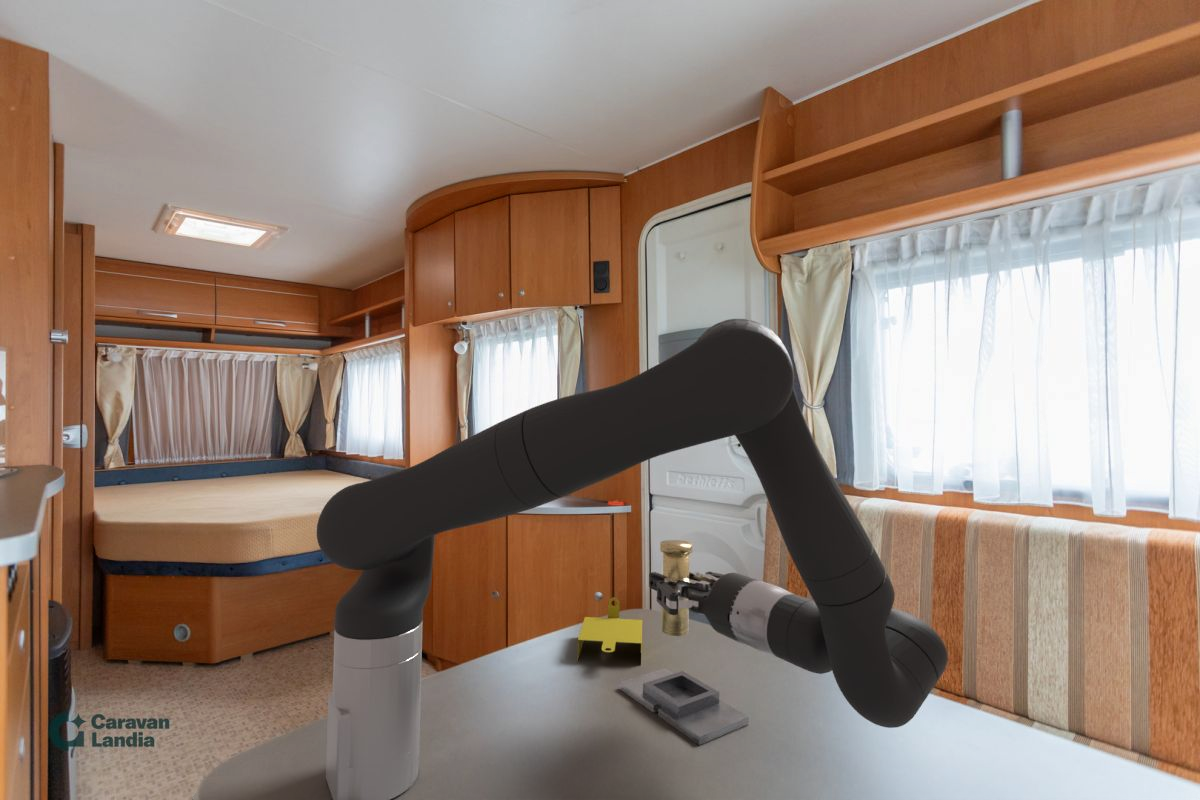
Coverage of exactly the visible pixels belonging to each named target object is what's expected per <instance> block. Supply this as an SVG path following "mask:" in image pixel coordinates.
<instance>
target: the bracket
mask: <svg viewBox="0 0 1200 800" xmlns="http://www.w3.org/2000/svg"><path fill="white" fill-rule="evenodd" d="M613 601H614V602H616V605H613V604H612V602H613ZM620 603H621V602H620V600H619V599H618V598H617V597H611V598H609V599H608V605H607V617H593V616H592V617H591V616H584V619H583V622H582V625H581V628H580V631H579V635H578V639H577V657H576V658H577V660H576V661H579V659H578V658H580V656H581V652H580V651H582V649H583V644H584V641H587V642H588V641H590V642H602V645H601V651H602V652H604V653H613V652H615V651H616V643H625V644H626V643H627V644H640V652H642V649H643V648H642V647H643V645H642V644H643V619H629V618H627V619H626V618H620V606H621V605H620ZM606 649H610V650H606Z"/></svg>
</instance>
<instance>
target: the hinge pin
mask: <svg viewBox="0 0 1200 800" xmlns="http://www.w3.org/2000/svg"><path fill="white" fill-rule="evenodd" d="M659 551H660V552H662V575H664V576H666V577H669V578H672V579H676V580H680V579H683V578H687V579H689V572H690V554H692V553H693V543H692V542H690V541H686V540H681V539H668V540H667V539H666V540H662V541H660V547H659ZM687 587H688V586H687ZM673 589H674V590H675V591H676V590H677V587H676V586H673ZM661 607H662V606H661ZM689 611H690V609H687V608H679V611H678V615H670V614H669V613H668V612H667V611H666V610H665V609H664V608H663V607H662V613H661V614H662V615H661V621H662V622H661V624H662V626H661V627H662V628H661V629H662V633H664V634H665V635H668V636H673V637H674V636H675V637H682V636H686V635H687V634H689V631H690V630H689V626H690V624H689V623H690V622H689V619H690V618H689V617H690V615H689V614H690V612H689Z"/></svg>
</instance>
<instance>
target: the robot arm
mask: <svg viewBox="0 0 1200 800" xmlns="http://www.w3.org/2000/svg"><path fill="white" fill-rule="evenodd" d="M794 371H795V370H794V366H793V362H792V359H791V356H790V354H789V352H788V349H787V348H786V346H785V344H784V342H783V341H782V339H781V338H780V337H779V336H778V335H777V333H775V332H774V331H773V330H772V329H771V328H770V327H767V326H766V325H765V324H762V323H760V322H758V321H756V320H752V319H747V318H730V319H725V320H722V321H720V322H717V323H715V324H714V325H711V327H709V328H708V329H706V330H705V331H704V332H703V333H702V334H701V335H700V336H699V337H698V338H697V340H696V341H695V342H693V343H692V344H690V345H689V346H687V347H686V348H684V349H682V350H681V351H679V352H677V353H676V354H673V355H672V356H671V357H669V358H667V359H666V360H663V361H662V362H660V363H658V364H656V365H654V366H653V367H650V368H648V369H647V370H645V371H642V372H641V373H640V374H637V375H635V376H633V377H631V378H628V379H626V380H624V381H622V382H619V383H616V384H613V385H610V386H607V387H606V386H605V387H603V388H598V389H594V390H593V389H592V390H589V391H584V392H581V393H576V394H572V395H567V396H563V397H560V398H557V399H554V400H551V401H547V402H544V403H542V404H540V405H537V406H533V407H531V408H529V409H526V410H524V411H522V412H520V413H517V414H515V415H513V416H510V417H508V418H505V419H504V420H501V421H500V422H497V423H495V424H494V425H492V426H490V427H488V428H485V429H484V430H482V431H480V432H479V431H478V432H477V433H475V434H473V435H470V436H469V437H467V438H465V439H463V440H461V441H459V442H458V443H455V444H453V445H451V446H450V447H448V448H445V449H444V450H442V451H440V452H438V453H437V454H435V455H432V456H431V457H430V458H428V459H425V460H424V461H422V462H419V463H417V464H415V465H413V466H410V467H407V468H405V469H402V470H399V471H396V472H393V473H390V474H387V475H383V476H380V477H377V478H374V479H370V480H367V481H362V482H358V483H354V484H351V485H348V486H346V487H344V488H342V489H340V490H339V491H337V492H336V493H335V494H333V496H331V498H329V500H328V501H327V502H326V504H325V505H324V507H323V508H322V509H321V512H320V515H319V516H318V521H317V525H316V539H317V543H318V546H319V548H320V551H321V552H322V553H323V554H324V556H325V557H326V558H327V559H328V560H329V561H330V562H331V563H334V564H335V565H336V566H339V567H341V568H344V569H348V570H352V571H361V573H360V575H359V576H358V578H357V579H356V581H355V582H354V584H353V585H352V586H351V587H350V588H349V589H348V590H347V592H346V593H344V595H342V596H341V597H340V599H339V600H338V601H337V603H336V606H335V610H334V625H333V626H334V631H333V632H334V635H333V636H334V637H333V638H334V639H333V670H332V671H333V673H332V691H330V692H329V693H327V694H328V695H327V696H328V697H327V721H326V722H327V724H326V726H327V727H326V729H327V731H326V758H325V759H326V762H325V763H326V764H325V765H326V766H325V780H326V783H327V785H328V786H327V787H328V789H329V791H330V792H329V793H330V794H331V798H332V800H392V799H394V798H396V797H398V796H400V795H401V794H403V793H404V792H406V791H407V790H408V789H410V788H411V786H412V785H413V784H414V783H415V782H416V780H417V778H418V777H419V776H418V775H419V766H420V765H419V764H420V733H421V732H420V730H421V729H420V728H421V726H420V725H421V698H422V697H421V696H422V695H421V694H422V690H421V689H422V658H423V657H422V655H423V654H422V653H423V651H422V650H423V627H424V626H423V621H424V620H423V618H424V617H423V615H424V606H425V604H426V602H427V600H428V597H429V595H430V591H431V586H432V579H433V577H432V576H433V564H434V563H433V562H434V554H435V553H434V552H435V539H436V538H435V537H436V535H438V534H441V533H444V532H448V531H451V530H456V529H460V528H464V527H468V526H469V527H470V526H474V525H477V524H481V523H486V522H490V521H495V520H497V519H500V518H504V517H508V516H511V515H512V516H513V515H515V514H518V513H522V512H525V511H528V510H532V509H535V508H537V507H540V506H544V505H546V504H548V503H551V502H553V501H555V500H556V501H557V500H559V499H561V498H564V497H566V496H569V495H572V494H574V493H576V492H579V491H581V490H583V489H585V488H587V487H590V486H592V485H595V484H597V483H599V482H602V481H604V480H606V479H609V478H611V477H614V476H616V475H618V474H620V473H622V472H624V471H626V470H628V469H630V468H633V467H634V466H637V465H639V464H641V463H644V462H646V461H648V460H651V459H653V458H657V457H658V456H662V455H665V454H669V453H672V452H676V451H679V450H683V449H687V448H691V447H695V446H698V445H701V444H706V443H710V442H714V441H717V440H722V439H725V438H728V437H730V438H731V437H733V436H735V438H736V439H737V441H738V442H739V444H740V445H741V448H742V449H743V451H744V452H745V454H746V456H747V458H748V461H749V462H750V463H751V465H752V467H753V470H754V471H755V474H756V476H757V477H758V480H759V482H760V484H761V486H762V489H763V491H764V494H765V496H766V498H767V501H768V504H769V507H770V509H771V511H772V515H773V517H774V519H775V521H776V524H777V527H778V530H779V532H780V535H781V537H782V539H783V541H784V544H785V546H786V549H787V551H788V553H789V555H790V557H791V559H792V561H793V563H794V566H795V567H796V569H797V572H798V573H799V575H800V577H801V579H802V581H803V583H804V585H805V587H806V589H807V591H808V592H809V595H810V596H811V598H812V599H810V598H807V597H803V596H801V595H798V594H795V593H793V592H790V591H789V590H786V589H784V588H783V587H780V586H778V585H775V584H772V583H768V582H766V581H762V580H760V579H756V578H753V577H749V576H747V575H743V574H740V573H738V572H729V573H728V572H727V573H725V574H723V573H717V572H713V571H707V572H706V571H705V574H703V573H700V572H699V571H698V572H697V571H696V572H690V571H689V579H687V578H683V579H680V580H676V579H672V578H669V577H666V576H664V575H663V573H658V572H656V571H653V572H649V574H648V587H649V588H650V589H652V590H653V591H656V602H657V603H658V604H659V605H660V606H661V607H663V608H664V609H665V610H666V611H667V612H668V613H669V614H670V615H678V611H679V608H687V609H689V611H691V612H693V613H695V614H698V615H701V616H705V618H706V619H707V621H708V623H709V625H710V626H711V628H712V629H713V630H714V631H715V632H716V633H718V634H720V635H722V636H724V637H727V638H729V639H731V640H732V641H734V642H737V643H740V644H741V645H744V646H746V647H749V648H750V649H753V650H755V651H757V652H758V653H759V652H760V653H763V654H765V655H768V656H769V655H770V656H773V657H776V658H778V659H780V660H782V661H785V662H788V663H790V664H791V665H794V666H796V667H799V669H802V670H805V671H807V672H811V673H813V674H819V675H824V674H827V673H830V672H832V674H833V677H834V681H835V682H836V684H837V687H838V688H839V691H840V692H841V694H842V695H843V697H844V699H845V700H846V701H847V702H848V703H849V705H850V707H852V708H853V709H854V711H855V712H856V713H857V714H858V715H860V716H861V717H862V718H864V719H865V720H867V721H868V722H870V723H872V724H874V725H876V726H879V727H883V728H886V729H887V728H888V729H889V728H890V729H891V728H892V729H893V728H899V727H902V726H904V725H907V724H908V723H909V722H910V721H911V720H912V719H913V718H914V717H915V716H916V714H917V713H918V712H919V710H920V708H921V707H922V705H923V704H924V703H925V701H926V699H927V698H928V696H929V695H930V693H931V691H932V690H933V688H934V687H935V685H936V684H937V683H938V681H939V680H940V679H941V677H942V676H943V674H944V672H945V670H946V667H947V664H948V658H949V657H948V649H947V647H946V645H945V642H944V641H943V639H942V637H940V635H939V634H938V632H936V631H935V629H934V628H933V627H932V626H930V625H929V624H928V623H926V622H925V621H924V620H922V619H920V618H919V617H917V616H915V615H914V614H911V613H909V612H905V611H902V610H899V609H897V608H893V606H894V603H895V597H896V596H895V588H894V586H893V583H892V581H891V578H890V576H889V575H888V573H887V570H886V568H885V566H884V564H883V563H882V561H881V558H880V557H879V555H878V553H877V551H876V549H875V546H873V542H872V541H871V539H870V538H869V536H868V534H867V532H866V530H865V529H864V526H863V525H862V523H861V521H860V519H859V518H858V516H857V514H856V512H855V511H854V509H853V507H852V506H851V504H850V503H849V500H848V498H847V497H846V496H845V493H844V491H842V489H841V486H840V485H839V483H838V481H837V480H836V479H835V477H834V475H833V472H832V471H831V470H830V468H829V466H828V464H827V462H826V461H825V458H824V457H823V454H822V453H821V451H820V450H819V447H818V445H817V443H816V441H815V438H814V437H813V434H812V433H811V431H810V428H809V426H808V423H807V421H806V419H805V416H804V414H803V410H802V408H801V405H800V403H799V400H798V396H797V394H796V390H795V387H794V384H795V383H794V382H795V372H794ZM673 586H676V587H677V590H676V591H675V590H674V589H673ZM687 586H688V587H687Z"/></svg>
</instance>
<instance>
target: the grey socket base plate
mask: <svg viewBox="0 0 1200 800" xmlns="http://www.w3.org/2000/svg"><path fill="white" fill-rule="evenodd" d="M618 684H619V685H618V689H619V690H620V691H622V692H623V693H624V694H626V695H628V696H629V697H630V698H632V699H633V700H635V701H636V702H637V703H638V704H640V705H641V706H643V707H644V706H645V707H644V708H646V709H647V710H648V711H650V712H651V713H658V714H657V716H658V717H659V718H660V719H662V720H663V721H664V722H666V723H667V724H668V725H670V726H672V727H673V728H674V729H676V730H677V731H678V732H680V733H682V734H683V735H685V736H686V737H688V739H690V740H692V742H694V743H696V744H697V745H698V746H701V745H703V744H705V743H707V742H710V741H712V740H714V739H717V738H719V737H721V736H724V735H726V734H729V733H731V732H734V731H736V730H738V729H741V728H743V727H746V726H749V716H748V715H747V714H744V713H743V712H742V711H739V710H738V709H736V708H734V707H732V706H731V705H729V704H728V703H726V702H724V701H723V700H721V699H720V691H718V690H716V689H715V688H713V687H711V686H710V685H708V684H706V683H704V682H703V681H700V680H699V679H697V678H695V677H694V676H692V675H690V674H688V673H686V672H684V671H683V670H680V671H679V672H673V671H672V670H670V669H668V668H666V667H664V668H661V669H657V670H654V671H651V672H648V673H644V674H642V675H638V676H634V677H632V678H631V677H630V678H628V679H625V680H622V681H619V682H618Z"/></svg>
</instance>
